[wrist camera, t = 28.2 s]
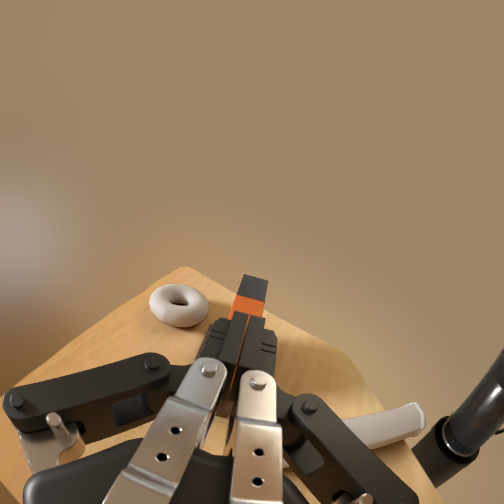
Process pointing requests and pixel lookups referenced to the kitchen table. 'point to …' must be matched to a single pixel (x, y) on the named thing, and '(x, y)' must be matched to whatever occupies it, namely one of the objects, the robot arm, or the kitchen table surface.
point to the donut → (178, 314)
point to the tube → (386, 426)
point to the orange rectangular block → (246, 309)
